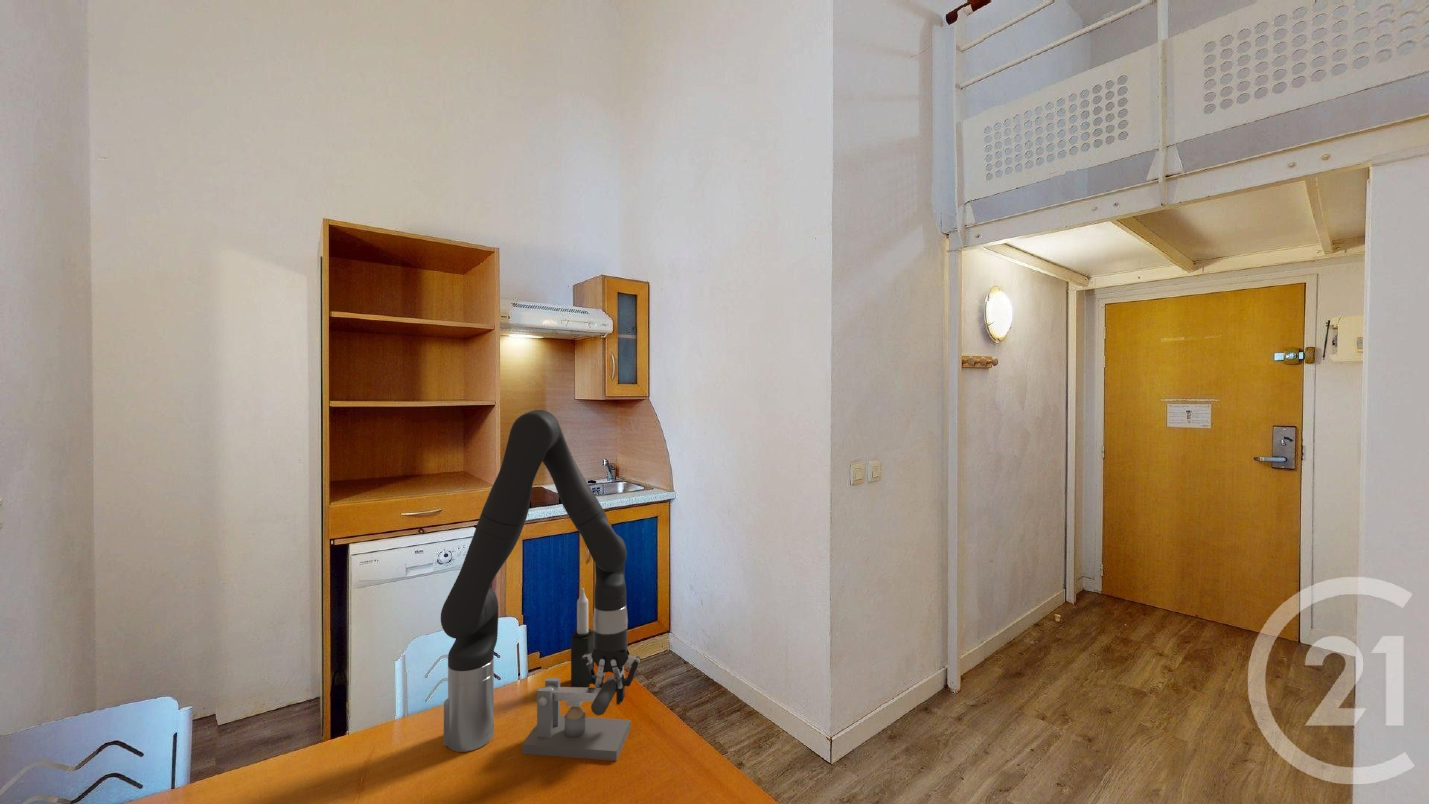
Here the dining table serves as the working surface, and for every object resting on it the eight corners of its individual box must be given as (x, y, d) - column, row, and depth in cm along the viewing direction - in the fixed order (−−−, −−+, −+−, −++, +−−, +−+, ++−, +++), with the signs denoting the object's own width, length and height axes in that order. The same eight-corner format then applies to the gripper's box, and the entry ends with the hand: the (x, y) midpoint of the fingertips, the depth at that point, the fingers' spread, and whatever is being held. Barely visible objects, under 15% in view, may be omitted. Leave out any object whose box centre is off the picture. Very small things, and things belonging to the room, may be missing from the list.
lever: (533, 716, 114) (532, 698, 114) (552, 690, 124) (551, 674, 124) (606, 718, 113) (605, 700, 113) (619, 692, 122) (619, 676, 122)
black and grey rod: (587, 688, 140) (587, 592, 140) (569, 686, 141) (569, 590, 141) (595, 678, 145) (595, 585, 145) (578, 676, 146) (578, 584, 146)
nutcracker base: (522, 753, 114) (522, 697, 114) (544, 723, 125) (544, 671, 125) (616, 760, 112) (616, 703, 112) (630, 728, 123) (630, 676, 123)
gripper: (573, 631, 118) (573, 709, 118) (637, 634, 116) (637, 713, 116) (585, 617, 125) (585, 691, 125) (645, 620, 124) (645, 695, 124)
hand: (610, 701), depth 121 cm, fingers open, 3 cm apart
